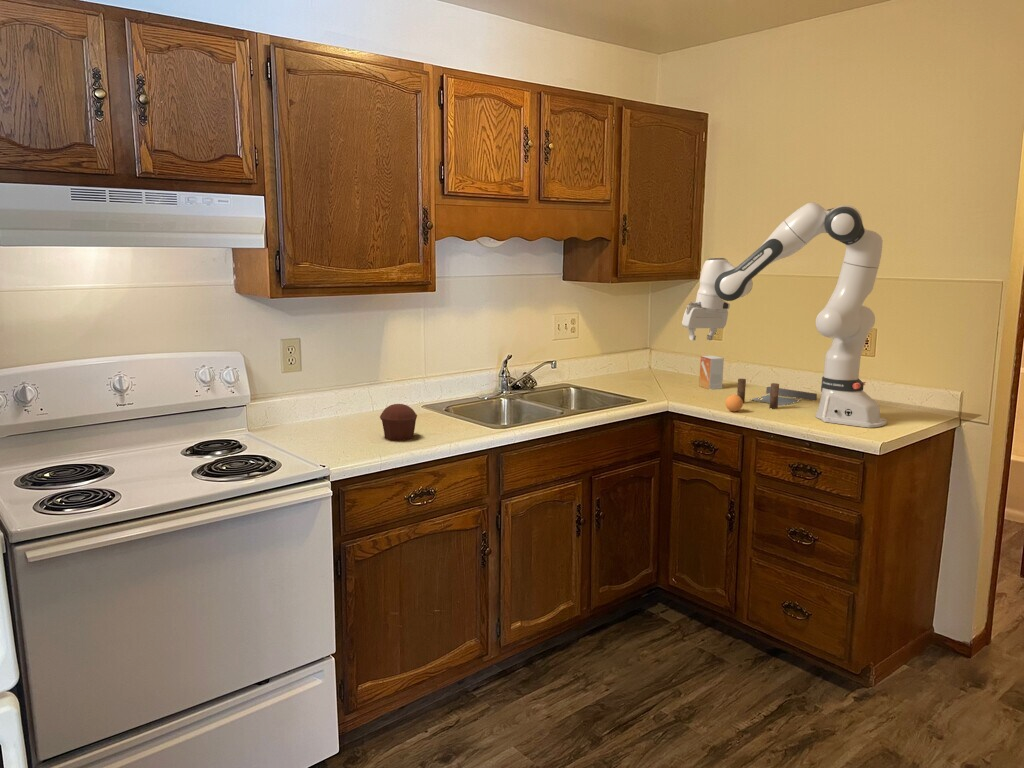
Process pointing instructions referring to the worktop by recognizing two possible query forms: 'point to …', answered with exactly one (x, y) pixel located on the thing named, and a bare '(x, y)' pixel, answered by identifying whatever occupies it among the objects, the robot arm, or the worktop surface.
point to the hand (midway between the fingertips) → (700, 340)
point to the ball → (734, 403)
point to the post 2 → (774, 395)
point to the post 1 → (741, 389)
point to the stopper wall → (795, 393)
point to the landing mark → (780, 400)
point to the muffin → (398, 422)
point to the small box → (711, 372)
